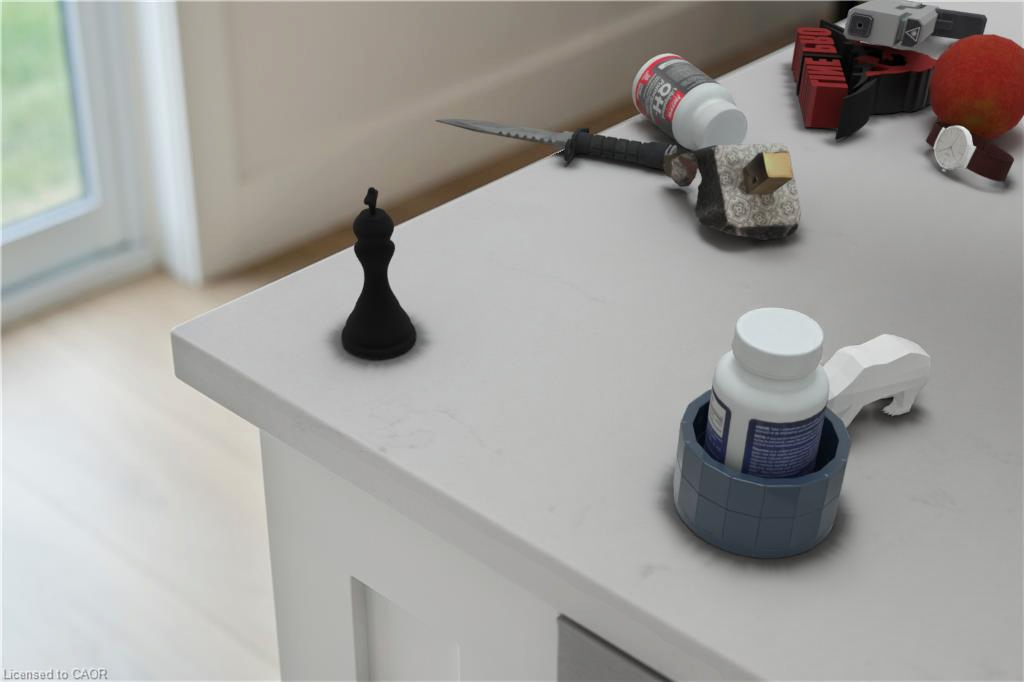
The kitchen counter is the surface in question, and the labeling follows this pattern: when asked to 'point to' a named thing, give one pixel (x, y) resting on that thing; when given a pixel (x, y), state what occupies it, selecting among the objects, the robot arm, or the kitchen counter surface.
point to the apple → (980, 85)
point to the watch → (968, 151)
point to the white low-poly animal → (876, 375)
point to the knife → (576, 142)
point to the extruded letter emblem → (855, 79)
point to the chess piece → (376, 291)
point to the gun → (908, 23)
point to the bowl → (757, 493)
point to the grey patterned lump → (741, 188)
